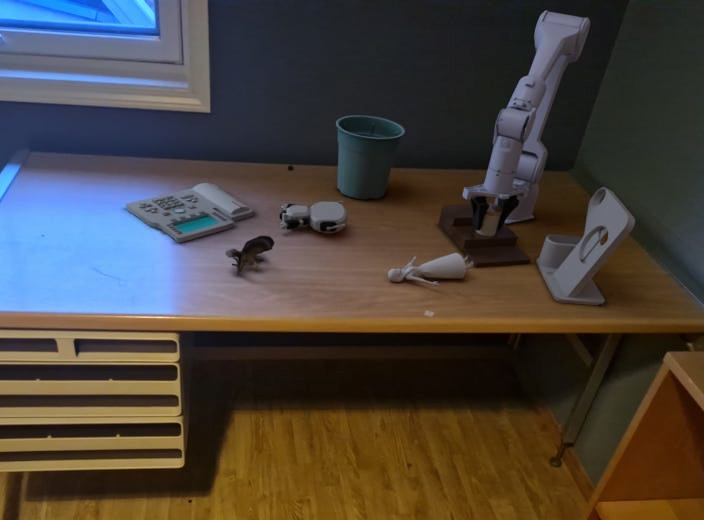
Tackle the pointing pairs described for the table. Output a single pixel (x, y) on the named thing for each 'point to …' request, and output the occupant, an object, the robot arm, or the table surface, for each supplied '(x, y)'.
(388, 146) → the flower pot
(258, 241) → the brown animal figurine
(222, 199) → the office telephone
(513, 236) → the step shelf
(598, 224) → the phone holder
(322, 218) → the robot toy
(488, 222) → the jar
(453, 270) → the woman figurine
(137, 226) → the table surface
